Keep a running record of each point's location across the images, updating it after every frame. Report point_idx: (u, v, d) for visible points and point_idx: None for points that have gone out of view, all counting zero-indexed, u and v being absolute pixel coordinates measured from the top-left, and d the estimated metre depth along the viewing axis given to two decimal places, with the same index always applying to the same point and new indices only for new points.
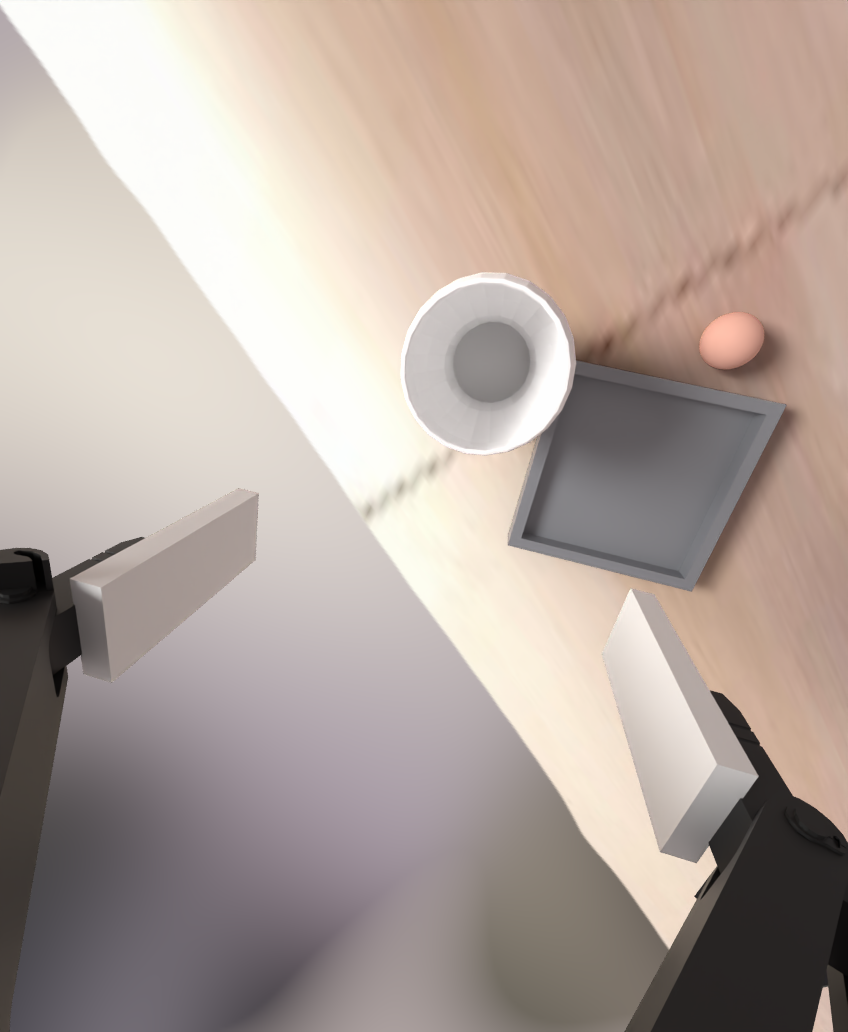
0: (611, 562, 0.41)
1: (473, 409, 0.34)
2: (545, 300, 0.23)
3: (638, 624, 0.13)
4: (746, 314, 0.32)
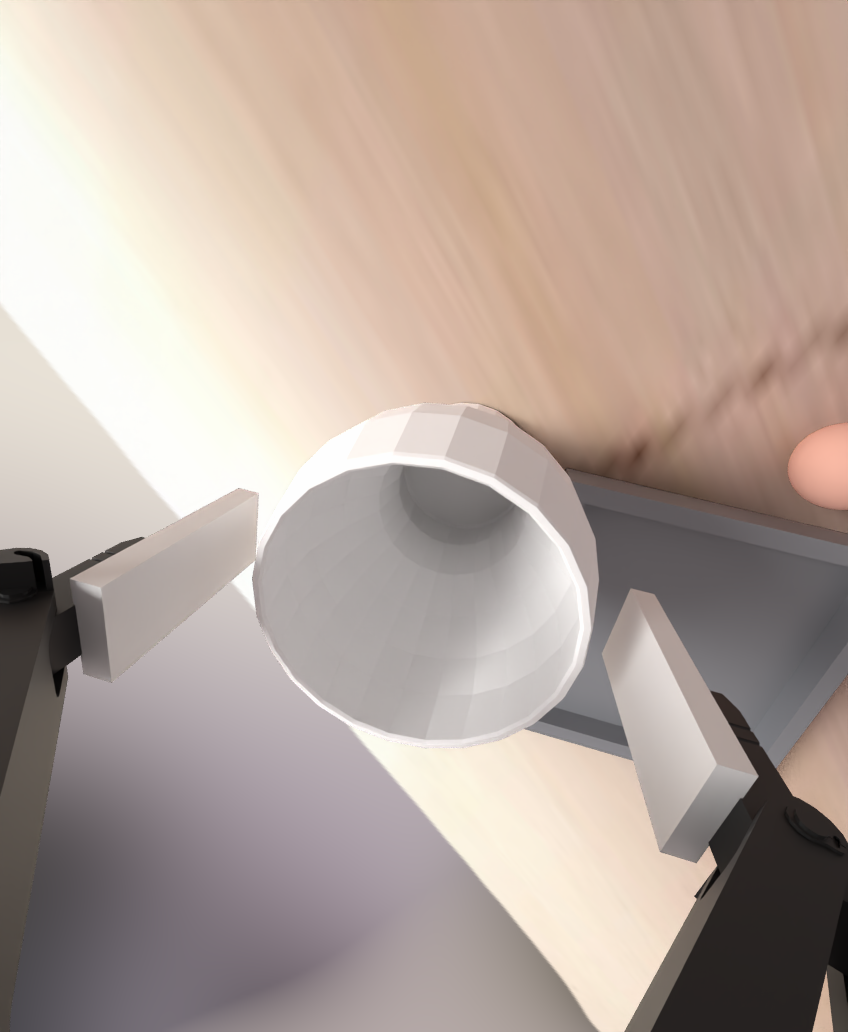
0: None
1: (427, 570, 0.21)
2: (537, 505, 0.10)
3: (638, 624, 0.13)
4: None
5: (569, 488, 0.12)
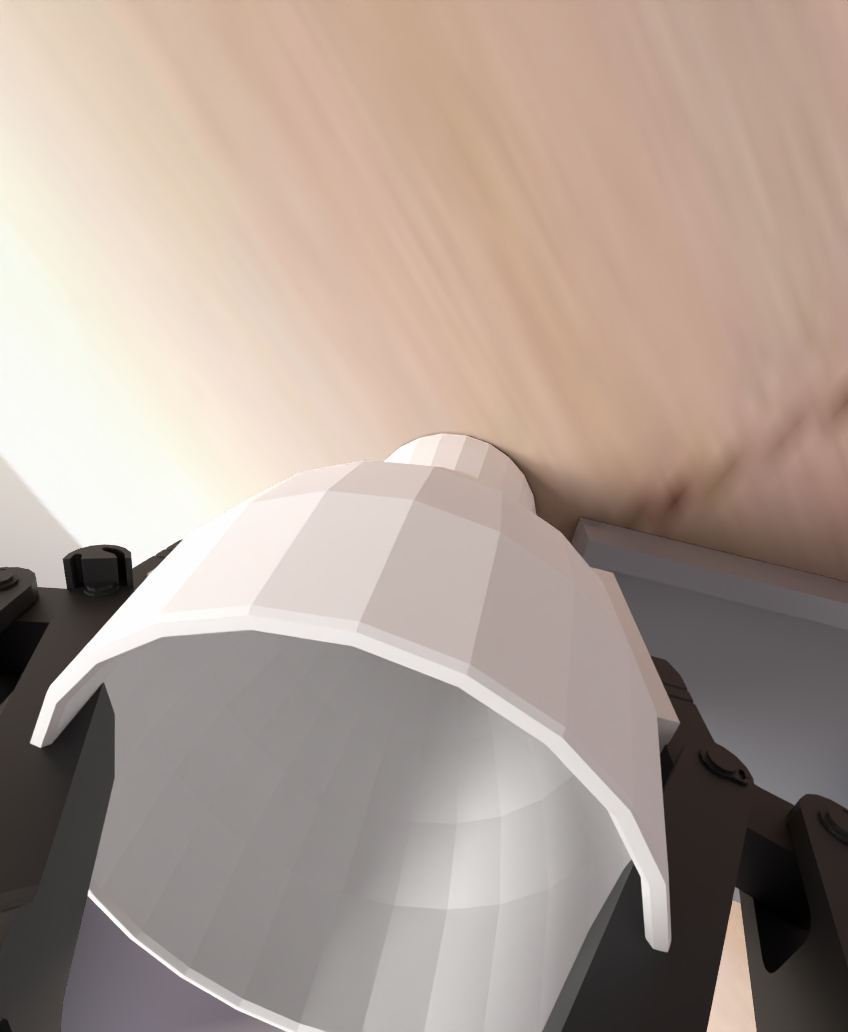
0: None
1: (394, 666, 0.16)
2: (563, 731, 0.05)
3: None
4: None
5: (613, 632, 0.07)
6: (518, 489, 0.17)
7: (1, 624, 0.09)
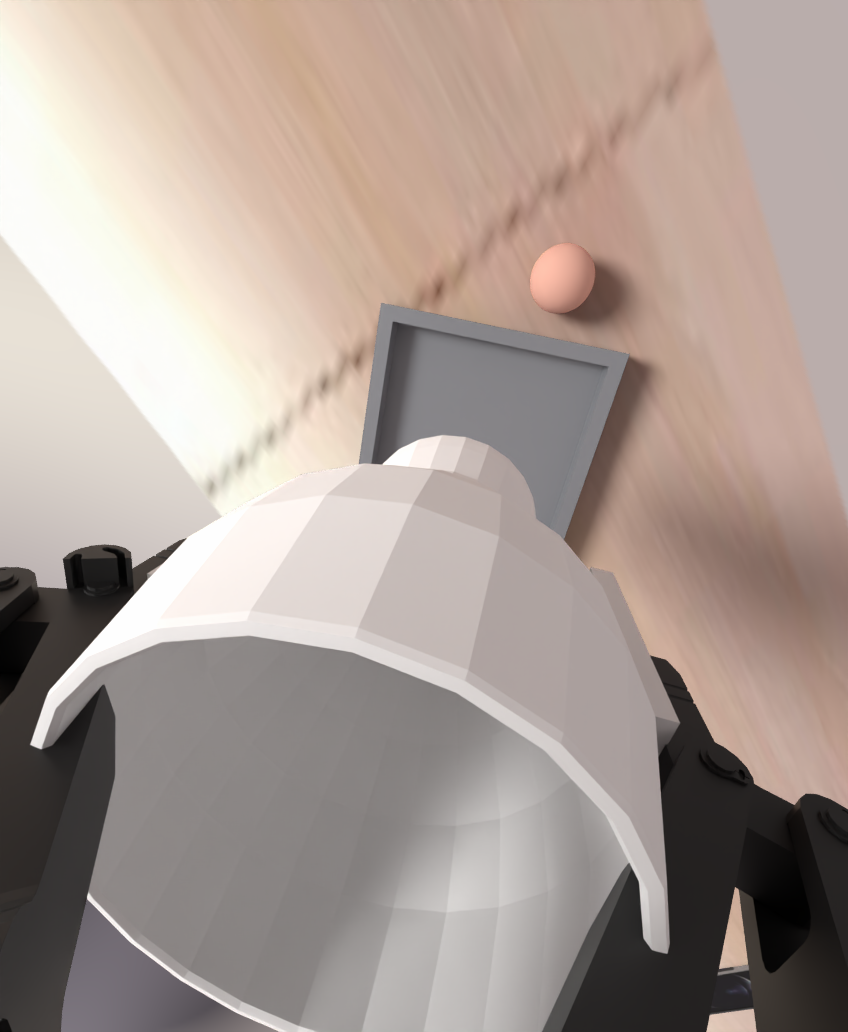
0: None
1: (394, 667, 0.16)
2: (561, 736, 0.05)
3: None
4: (571, 244, 0.27)
5: (612, 636, 0.07)
6: (518, 491, 0.17)
7: (1, 624, 0.09)
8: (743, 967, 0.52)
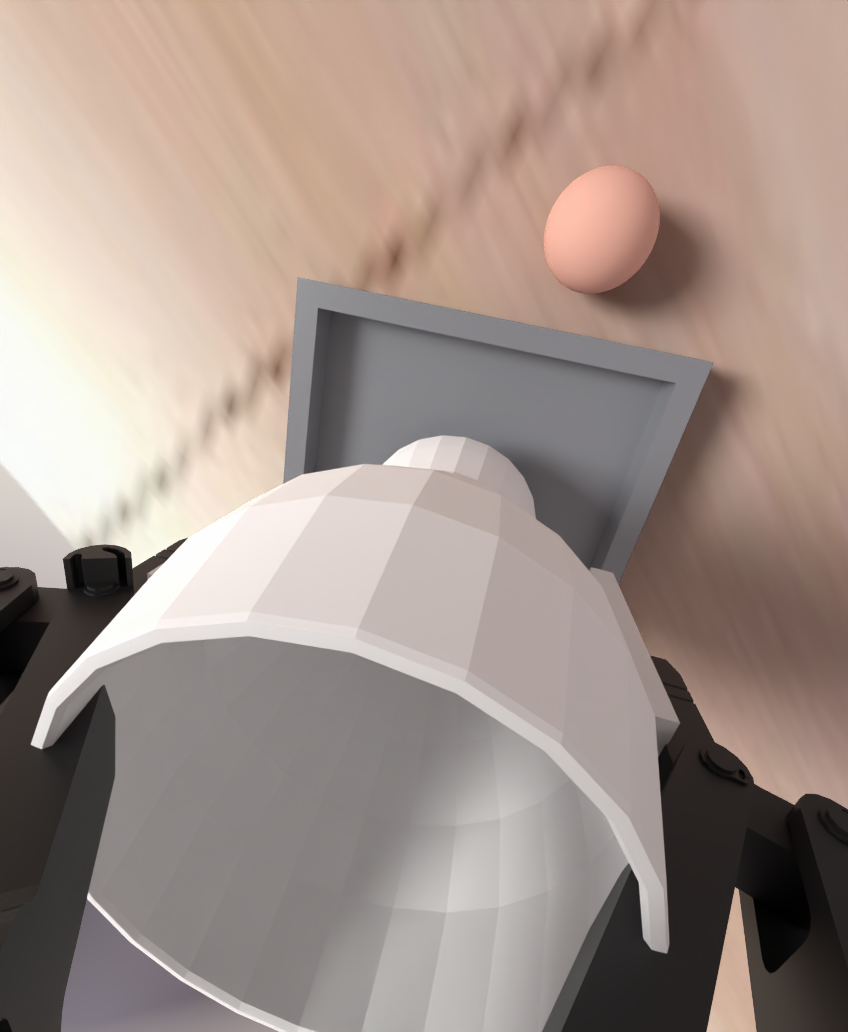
0: None
1: None
2: (561, 737, 0.05)
3: None
4: (619, 166, 0.15)
5: (611, 636, 0.07)
6: (518, 491, 0.17)
7: (1, 624, 0.09)
8: None
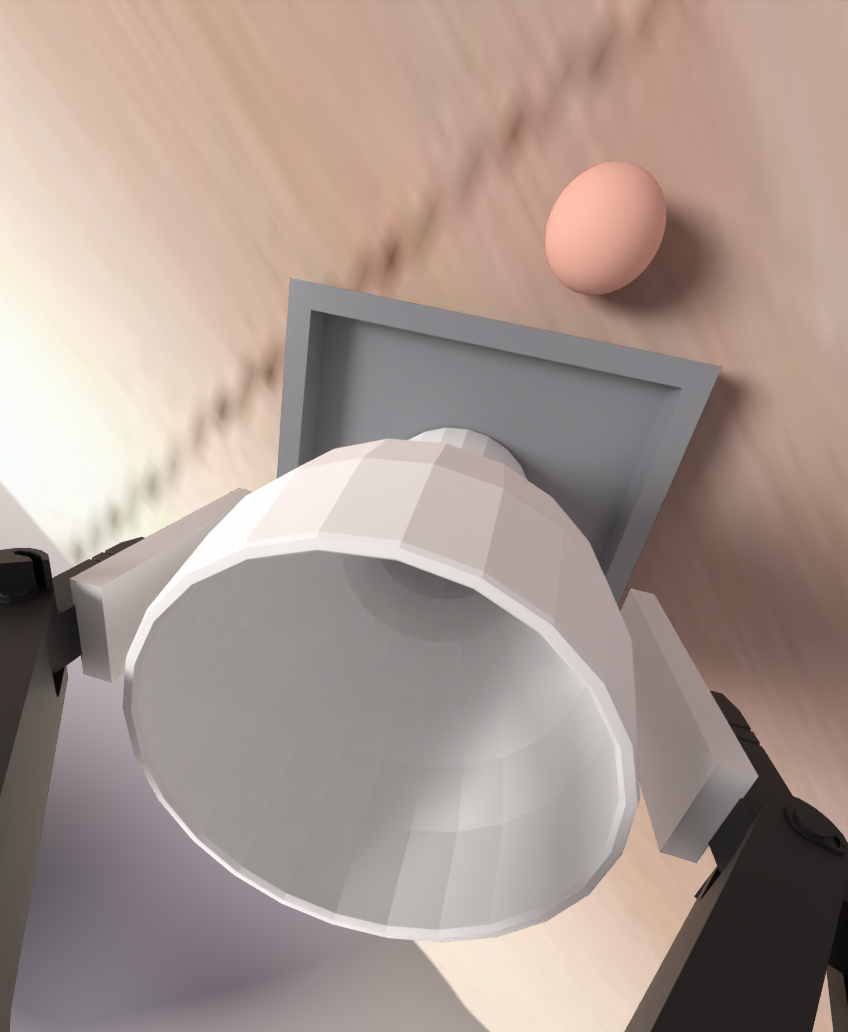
0: None
1: (404, 636, 0.17)
2: (553, 622, 0.06)
3: (638, 624, 0.13)
4: (624, 162, 0.14)
5: (594, 570, 0.08)
6: None
7: None
8: None
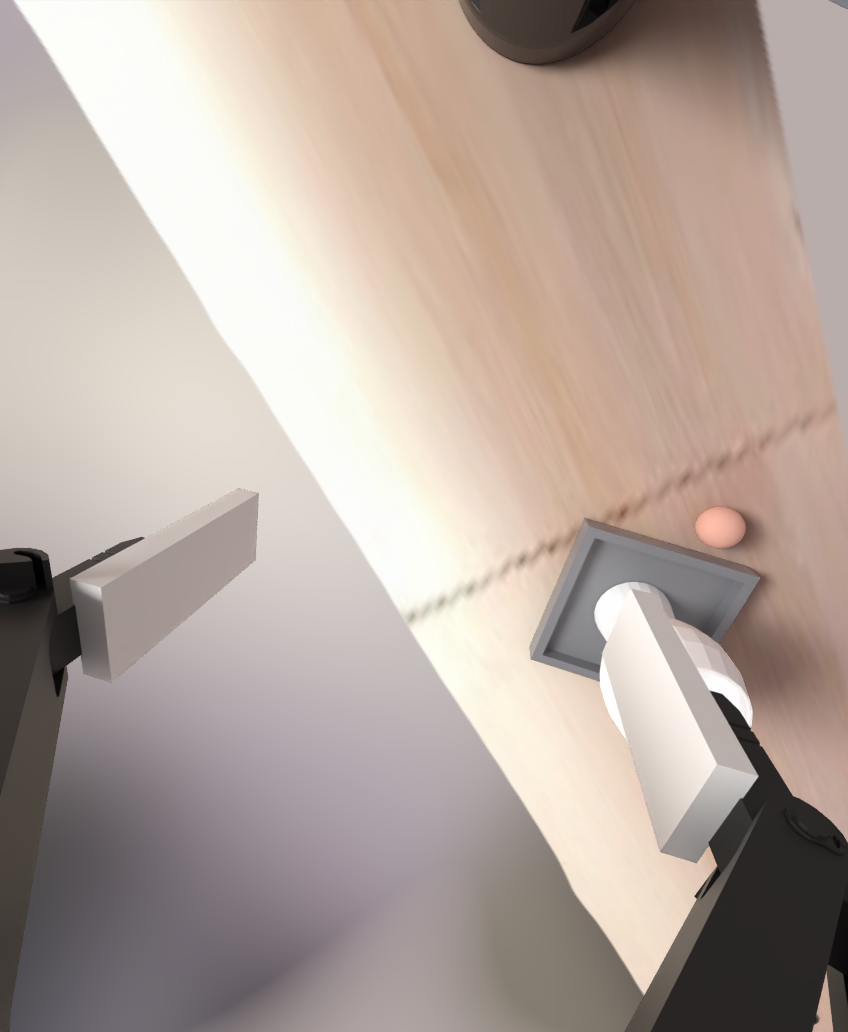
0: None
1: None
2: (740, 686, 0.33)
3: (638, 624, 0.13)
4: (732, 513, 0.41)
5: (738, 670, 0.35)
6: (671, 609, 0.45)
7: None
8: None
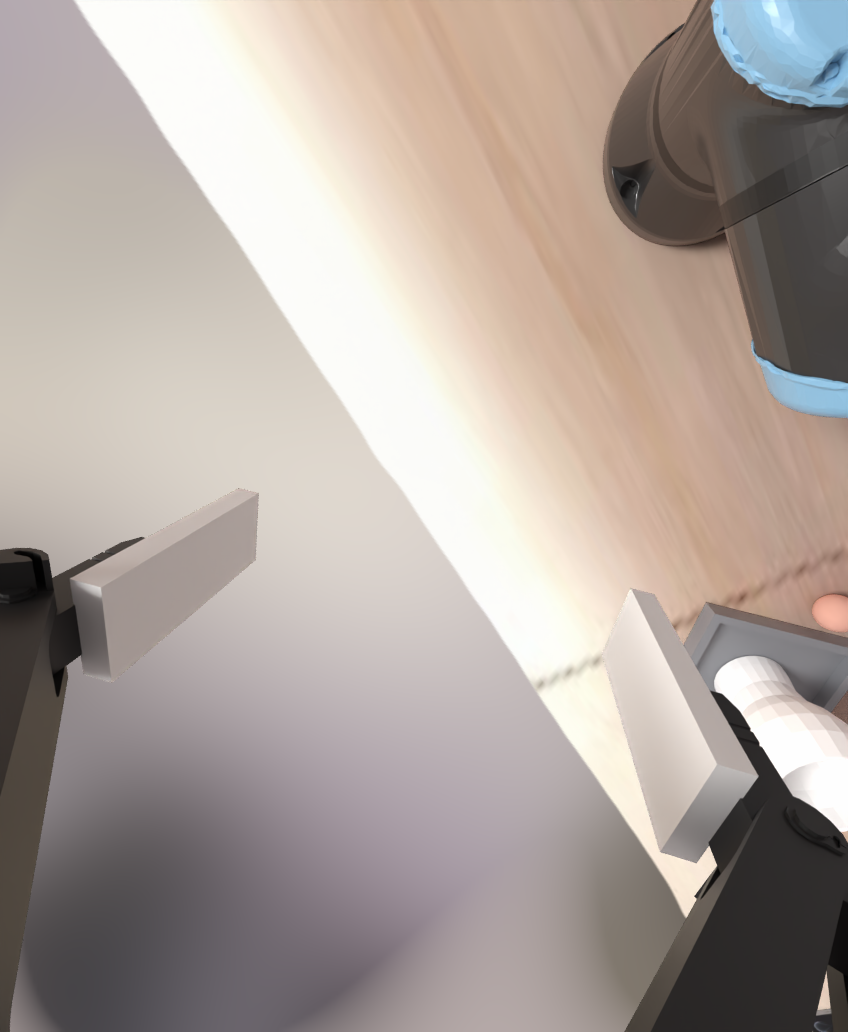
0: None
1: None
2: None
3: (638, 624, 0.13)
4: None
5: None
6: (790, 681, 0.51)
7: None
8: None
